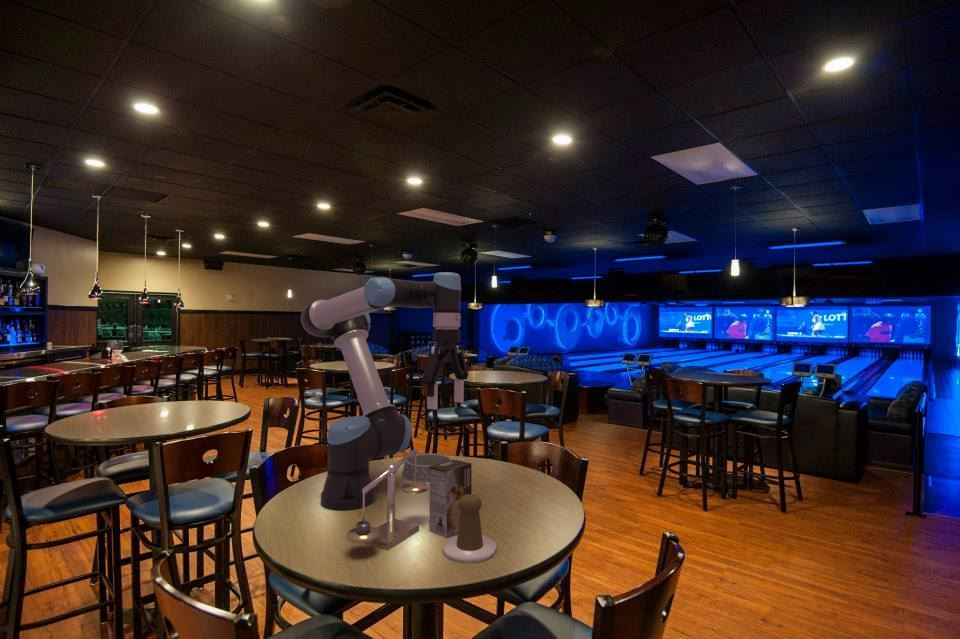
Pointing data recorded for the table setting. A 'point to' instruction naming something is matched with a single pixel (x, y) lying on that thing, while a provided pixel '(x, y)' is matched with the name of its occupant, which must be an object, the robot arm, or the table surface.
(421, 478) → the dog bowl
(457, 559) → the dish
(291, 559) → the table surface
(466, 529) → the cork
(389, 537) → the balance
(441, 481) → the coffee box
